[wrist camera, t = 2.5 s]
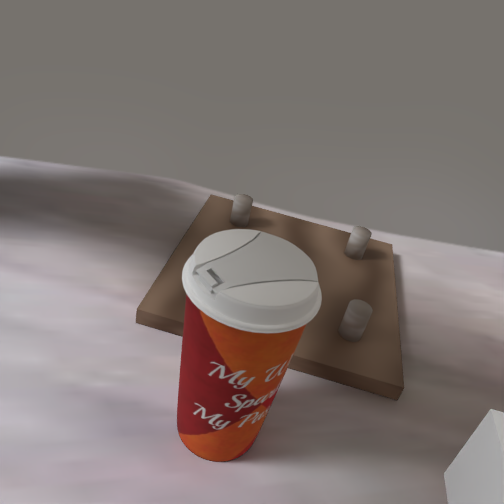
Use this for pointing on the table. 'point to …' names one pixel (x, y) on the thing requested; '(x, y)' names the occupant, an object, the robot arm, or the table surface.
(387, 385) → the peg holder
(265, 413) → the paper cup
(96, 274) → the table surface
